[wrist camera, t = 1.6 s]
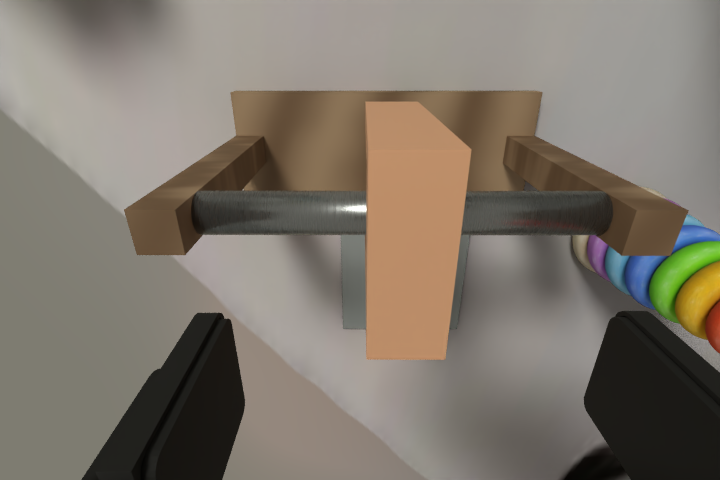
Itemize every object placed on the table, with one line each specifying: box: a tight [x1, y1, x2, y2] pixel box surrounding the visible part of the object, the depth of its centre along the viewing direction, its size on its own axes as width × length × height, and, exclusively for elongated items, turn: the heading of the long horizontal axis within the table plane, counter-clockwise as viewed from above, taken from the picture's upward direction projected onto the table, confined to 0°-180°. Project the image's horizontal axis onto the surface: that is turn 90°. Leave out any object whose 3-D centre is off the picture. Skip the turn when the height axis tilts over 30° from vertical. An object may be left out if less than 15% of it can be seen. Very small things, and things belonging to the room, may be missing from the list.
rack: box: [124, 91, 689, 256], centre depth 23 cm, size 22×8×16 cm, turn 90°
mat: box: [341, 235, 470, 329], centre depth 35 cm, size 11×11×1 cm
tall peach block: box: [365, 102, 471, 360], centre depth 18 cm, size 3×8×12 cm, turn 0°
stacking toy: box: [572, 187, 720, 353], centre depth 25 cm, size 8×8×19 cm
